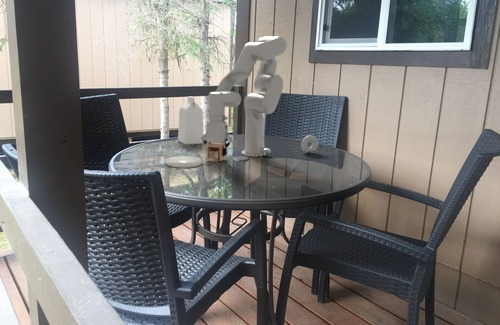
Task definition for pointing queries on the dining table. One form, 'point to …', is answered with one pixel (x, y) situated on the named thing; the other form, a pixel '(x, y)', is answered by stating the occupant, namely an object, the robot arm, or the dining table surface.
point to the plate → (183, 162)
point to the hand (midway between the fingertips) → (216, 154)
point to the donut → (305, 142)
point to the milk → (190, 123)
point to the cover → (217, 147)
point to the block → (214, 155)
